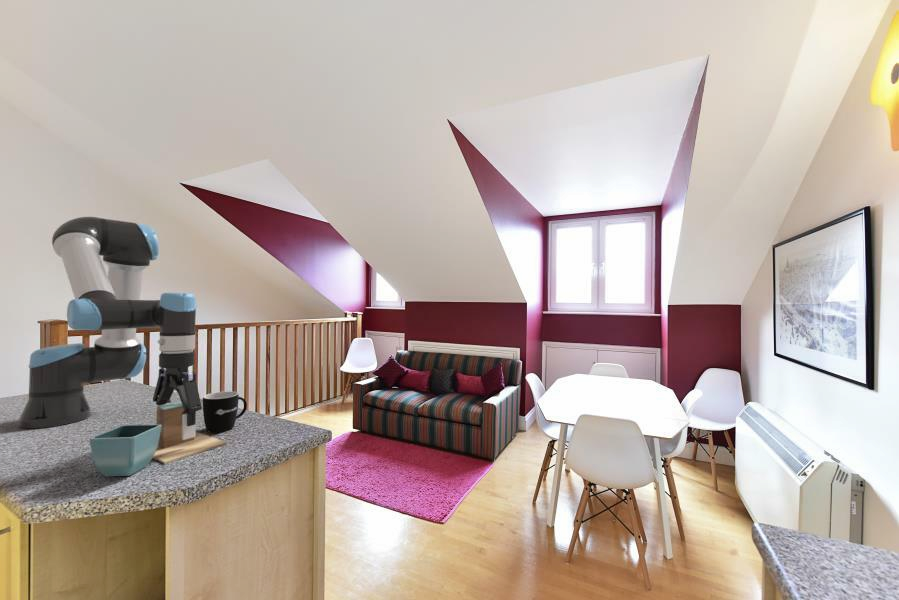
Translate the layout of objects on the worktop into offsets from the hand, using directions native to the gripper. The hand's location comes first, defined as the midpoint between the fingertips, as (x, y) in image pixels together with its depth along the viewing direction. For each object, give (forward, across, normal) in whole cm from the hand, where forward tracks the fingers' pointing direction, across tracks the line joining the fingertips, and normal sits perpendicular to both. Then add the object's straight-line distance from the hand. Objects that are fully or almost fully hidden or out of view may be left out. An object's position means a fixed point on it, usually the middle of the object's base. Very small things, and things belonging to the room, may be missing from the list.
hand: (175, 433), depth 95 cm
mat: (+3, +2, 0) cm, 4 cm away
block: (+2, 0, 0) cm, 2 cm away
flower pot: (+3, +8, -13) cm, 16 cm away
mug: (+3, -2, +14) cm, 14 cm away
